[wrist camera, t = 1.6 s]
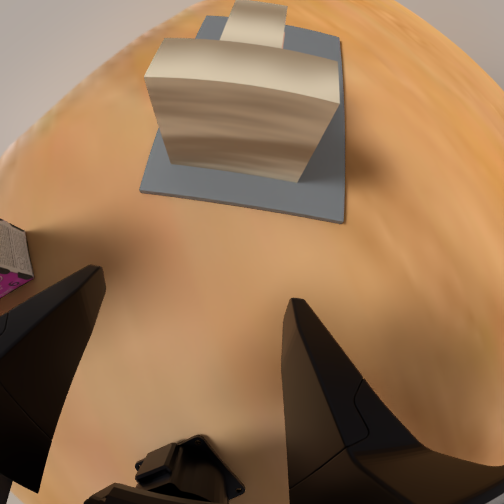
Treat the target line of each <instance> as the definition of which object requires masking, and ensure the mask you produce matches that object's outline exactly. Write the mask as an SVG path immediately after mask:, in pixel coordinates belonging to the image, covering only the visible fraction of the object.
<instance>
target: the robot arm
mask: <svg viewBox="0 0 504 504" xmlns="http://www.w3.org/2000/svg"><path fill="white" fill-rule="evenodd" d="M105 292H106V284H105V279H104V273H103V269H102V267H101V266H97V265H88V266H86V267H84V268H83V269H81V270H79V271H77V272H75V273H73V274H72V275H70V276H68V277H66V278H64V279H63V280H61V281H59V282H57V283H56V284H54V285H52V286H50V287H49V288H47V289H45V290H43V291H42V292H40V293H38V294H37V295H35V296H33V297H32V298H30V299H28V300H26V301H25V302H23V303H22V304H20V305H18V306H17V307H15V308H13V309H12V310H10V311H9V313H8V312H7V313H5V314H4V315H2V316H0V504H6V502H7V499H8V495H9V492H10V488H11V485H12V482H13V481H14V482H16V483H18V484H20V485H22V486H23V487H25V488H27V489H29V490H31V491H33V492H35V493H38V492H39V489H40V484H41V480H42V476H43V472H44V468H45V464H46V460H47V457H48V453H49V449H50V446H51V443H52V439H53V435H54V432H55V429H56V426H57V423H58V420H59V417H60V414H61V411H62V408H63V405H64V402H65V399H66V396H67V394H68V391H69V388H70V385H71V383H72V380H73V378H74V375H75V372H76V370H77V367H78V365H79V362H80V360H81V357H82V355H83V353H84V350H85V348H86V346H87V343H88V341H89V339H90V336H91V334H92V331H93V328H94V325H95V322H96V319H97V316H98V313H99V310H100V307H101V304H102V301H103V298H104V295H105ZM281 374H282V387H283V401H284V415H285V430H286V445H287V461H288V479H289V489H290V490H289V499H290V504H504V465H503V466H486V465H482V464H477V463H473V462H470V461H466V460H462V459H458V458H455V457H451V456H448V455H444V454H441V453H438V452H435V451H432V450H430V449H429V448H427V447H425V446H424V445H423V444H421V443H420V442H419V441H418V440H417V439H416V438H415V437H414V436H413V435H412V434H411V433H410V431H409V430H408V429H407V428H406V427H405V426H404V425H403V424H402V423H401V422H400V421H399V420H398V419H397V418H396V416H395V415H394V414H393V413H392V412H391V411H390V410H389V409H388V408H387V406H386V405H385V404H384V403H383V402H382V401H381V400H380V398H379V397H378V396H377V394H376V393H375V392H374V391H373V389H372V388H371V387H370V385H369V384H368V383H367V381H366V380H365V379H363V376H362V375H361V374H360V372H359V371H358V370H357V368H356V367H355V366H354V364H353V363H352V362H351V360H350V359H349V358H348V356H347V355H346V354H345V352H344V351H343V350H342V348H341V347H340V346H339V344H338V343H337V342H336V340H335V339H334V338H333V336H332V335H331V334H330V332H329V331H328V330H327V328H326V327H325V326H324V325H323V323H322V322H321V321H320V319H319V318H318V317H317V315H316V314H315V313H314V311H313V310H312V309H311V307H310V306H309V305H308V304H307V302H306V301H305V300H304V299H300V298H291V299H290V300H289V303H288V306H287V309H286V312H285V315H284V320H283V335H282V355H281ZM196 440H200V441H201V443H199V444H198V443H196V442H195V441H196ZM139 465H141V467H140V466H139ZM135 468H136V470H137V471H138V472H137V474H136V476H135V480H136V481H137V482H138V484H137V486H136V488H134V487H130V486H127V485H123V484H120V483H119V484H118V483H113V484H111V485H110V486H108V487H106V488H104V489H102V490H101V491H99V492H97V493H95V494H93V495H92V496H91V497H89V499H87V500H85V502H84V504H229V500H230V499H232V498H235V497H237V496H239V495H241V494H243V493H244V492H245V487H244V485H243V484H242V483H241V482H240V481H239V480H238V478H237V477H236V476H235V475H234V474H233V473H232V472H231V470H230V469H229V468H228V467H227V466H226V465H225V463H224V462H223V461H222V460H221V459H220V457H219V456H218V455H217V454H216V453H215V451H214V450H213V449H212V448H211V446H210V445H209V444H208V443H207V441H206V440H205V439H204V438H203V437H202V436H200V435H196V436H193V437H191V438H189V439H187V440H185V441H183V442H181V443H179V444H177V443H170V444H168V445H166V446H164V447H161V448H159V449H157V450H155V451H152V452H150V453H148V454H147V456H146V458H144V459H142V460H140V461H138V462H137V463H136V464H135ZM237 488H241V490H236V489H237Z"/></svg>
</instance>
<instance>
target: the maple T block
mask: <svg viewBox="0 0 504 504" xmlns="http://www.w3.org/2000/svg"><path fill="white" fill-rule="evenodd" d="M287 7H288V6H284V5H278V4H272V3H265V2H258V1H249V0H236V1H235V4H234V6H233V8H232V11H231V13H230V15H229V18H228V20H227V23H226V25H225V27H224V30H223V33H222V35H221V38H220V40H209V39H191V38H164V40H163V42H162V44H161V45H160V47H159V49H158V51H157V53H156V54H155V56H154V58H153V60H152V62H151V64H150V66H149V68H148V70H147V72H146V74H145V76H144V79H145V83H146V86H147V90H148V93H149V96H150V100H151V103H152V106H153V110H154V113H155V116H156V119H157V123H158V126H159V129H160V132H161V135H162V138H163V142H164V145H165V148H166V151H167V154H168V157H169V160H170V163H171V164H174V165H183V166H192V167H200V168H207V169H215V170H222V171H229V172H235V173H242V174H248V175H255V176H261V177H267V178H272V179H278V180H284V181H289V182H294V183H297V182H298V180H299V178H300V176H301V175H302V173H303V171H304V169H305V167H306V165H307V164H308V162H309V160H310V158H311V156H312V154H313V153H314V151H315V149H316V147H317V145H318V143H319V141H320V140H321V138H322V136H323V134H324V132H325V130H326V128H327V127H328V125H329V123H330V121H331V119H332V117H333V115H334V114H335V112H336V110H337V108H338V106H339V104H340V94H339V73H338V62H337V61H334V60H330V59H326V58H322V57H318V56H314V55H310V54H305V53H301V52H296V51H291V50H286V49H282V43H283V35H284V28H285V21H286V14H287Z"/></svg>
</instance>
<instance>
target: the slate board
mask: <svg viewBox="0 0 504 504" xmlns="http://www.w3.org/2000/svg"><path fill="white" fill-rule="evenodd" d="M228 18H229V17H221V16H206V18H205V20H204V22H203V24H202V26H201V28H200V30H199V32H198V34H197V36H196V38H195V39H209V40H220V38H221V35H222V33H223V30H224V27H225V25H226V23H227V20H228ZM282 49H286V50H291V51H296V52H301V53H305V54H310V55H314V56H318V57H322V58H326V59H330V60H334V61H337V62H338V73H339V94H340V104H339V106H338V108H337V110H336V112H335V114H334V115H333V117H332V119H331V121H330V123H329V125H328V127H327V128H326V130H325V132H324V134H323V136H322V138H321V140H320V141H319V143H318V145H317V147H316V149H315V151H314V153H313V154H312V156H311V158H310V160H309V162H308V164H307V165H306V167H305V169H304V171H303V173H302V175H301V176H300V178H299V180H298V182H297V183H294V182H289V181H284V180H278V179H272V178H267V177H261V176H255V175H248V174H242V173H235V172H229V171H222V170H215V169H207V168H200V167H192V166H183V165H174V164H171V163H170V160H169V157H168V154H167V151H166V148H165V145H164V142H163V138H162V135H161V132H160V129H159V128H158V131H157V134H156V137H155V140H154V143H153V146H152V149H151V152H150V155H149V158H148V162H147V165H146V168H145V172H144V175H143V178H142V182H141V185H140V189H139V190H140V192H141V193H146V194H155V195H163V196H170V197H178V198H185V199H193V200H200V201H207V202H214V203H220V204H227V205H234V206H240V207H247V208H253V209H259V210H265V211H271V212H277V213H283V214H289V215H294V216H300V217H306V218H311V219H317V220H322V221H327V222H333V223H338V224H341V223H343V221H344V196H345V118H344V93H343V76H342V62H341V51H340V40H339V37H336V36H332V35H328V34H324V33H321V32H316V31H312V30H308V29H303V28H299V27H294V26H289V25H285V28H284V35H283V43H282Z"/></svg>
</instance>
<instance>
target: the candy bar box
mask: <svg viewBox="0 0 504 504" xmlns="http://www.w3.org/2000/svg"><path fill="white" fill-rule="evenodd" d="M32 279H34V273H33V267H32V264H31V260H30V257H29V252H28V245H27V239H26V234H25V231H24V230H22V229H20V228H18V227H16V226H14V225H12V224H10V223H8V222H6V221H4V220H2V219H0V298H1V297H3V296H5V295H6V294H8V293H9V292H11V291H13V290H15V289H16V288H18V287H20V286H21V285H23V284H25V283H27V282H28V281H30V280H32Z"/></svg>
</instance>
